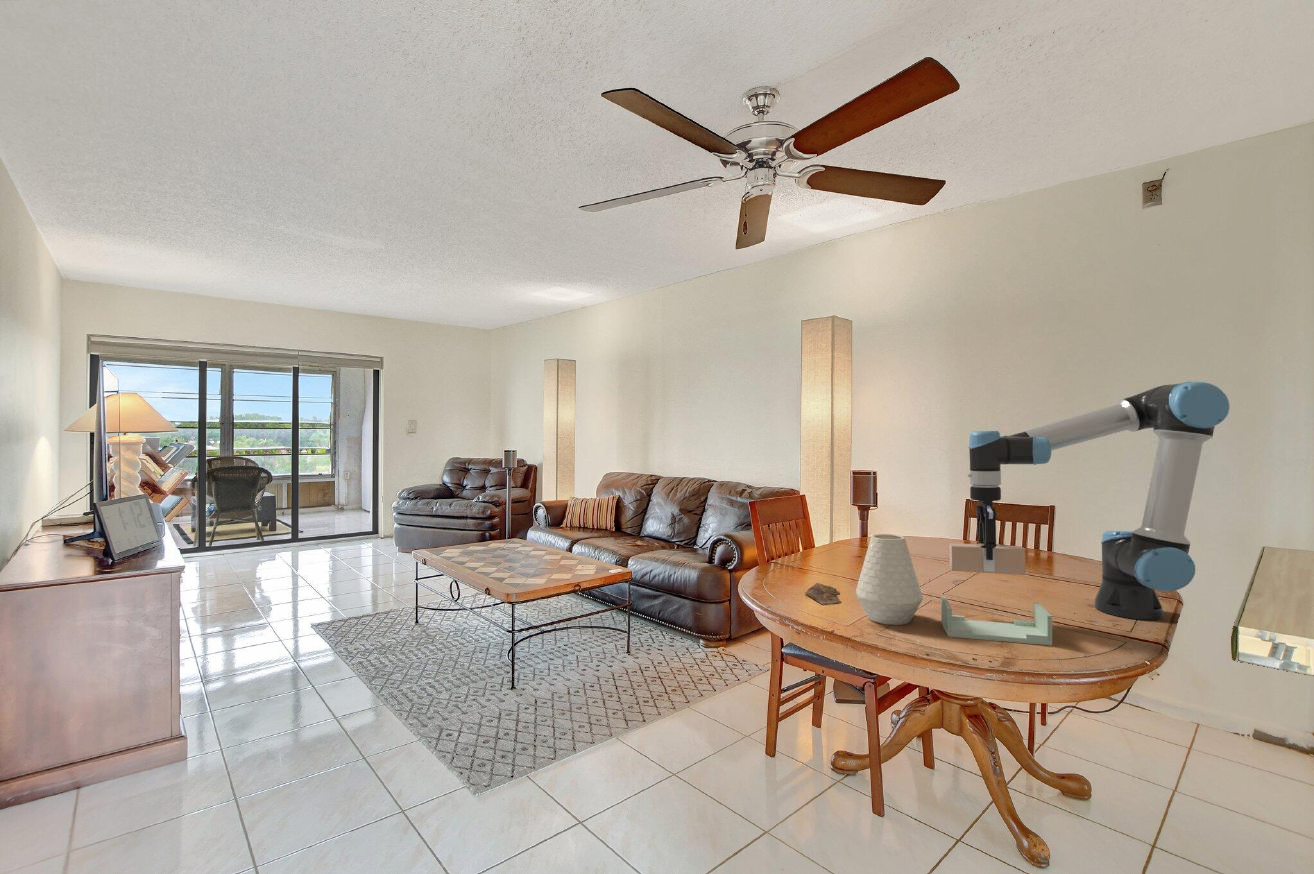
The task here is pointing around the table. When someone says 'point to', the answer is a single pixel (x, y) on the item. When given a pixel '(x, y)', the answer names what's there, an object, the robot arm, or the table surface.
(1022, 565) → the pinkish tan rectangular block
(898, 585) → the vase
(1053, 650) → the table surface
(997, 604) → the table surface
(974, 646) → the table surface
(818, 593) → the wooden fragment
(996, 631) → the tray
